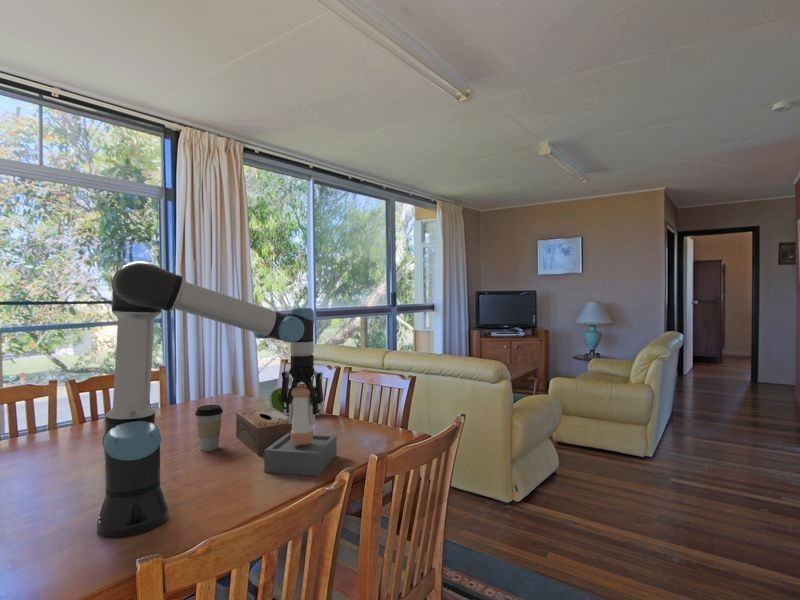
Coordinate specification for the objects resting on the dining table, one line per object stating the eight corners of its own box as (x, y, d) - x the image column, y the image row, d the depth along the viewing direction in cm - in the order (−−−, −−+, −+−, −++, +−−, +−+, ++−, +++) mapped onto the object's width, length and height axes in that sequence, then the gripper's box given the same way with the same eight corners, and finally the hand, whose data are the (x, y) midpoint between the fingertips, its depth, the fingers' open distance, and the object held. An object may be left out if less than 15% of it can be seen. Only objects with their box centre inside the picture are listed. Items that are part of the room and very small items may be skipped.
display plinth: (318, 476, 140) (318, 453, 140) (264, 472, 143) (264, 450, 143) (336, 455, 158) (336, 435, 158) (287, 452, 161) (287, 432, 161)
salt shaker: (317, 440, 152) (317, 383, 151) (302, 446, 145) (302, 386, 145) (301, 436, 155) (301, 380, 155) (286, 442, 149) (286, 384, 149)
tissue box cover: (297, 448, 166) (297, 421, 166) (257, 456, 157) (257, 428, 157) (271, 431, 187) (271, 407, 186) (236, 437, 178) (236, 412, 178)
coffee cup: (213, 453, 159) (212, 411, 159) (189, 451, 161) (189, 409, 161) (228, 444, 169) (228, 404, 168) (205, 443, 170) (205, 403, 170)
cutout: (325, 385, 213) (271, 381, 210) (325, 386, 210) (270, 382, 208) (323, 417, 213) (268, 414, 211) (322, 418, 210) (267, 415, 208)
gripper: (334, 353, 152) (333, 421, 152) (279, 352, 155) (279, 418, 156) (326, 356, 145) (326, 428, 145) (269, 354, 148) (269, 425, 148)
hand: (302, 423), depth 150 cm, fingers closed on salt shaker, 7 cm apart
